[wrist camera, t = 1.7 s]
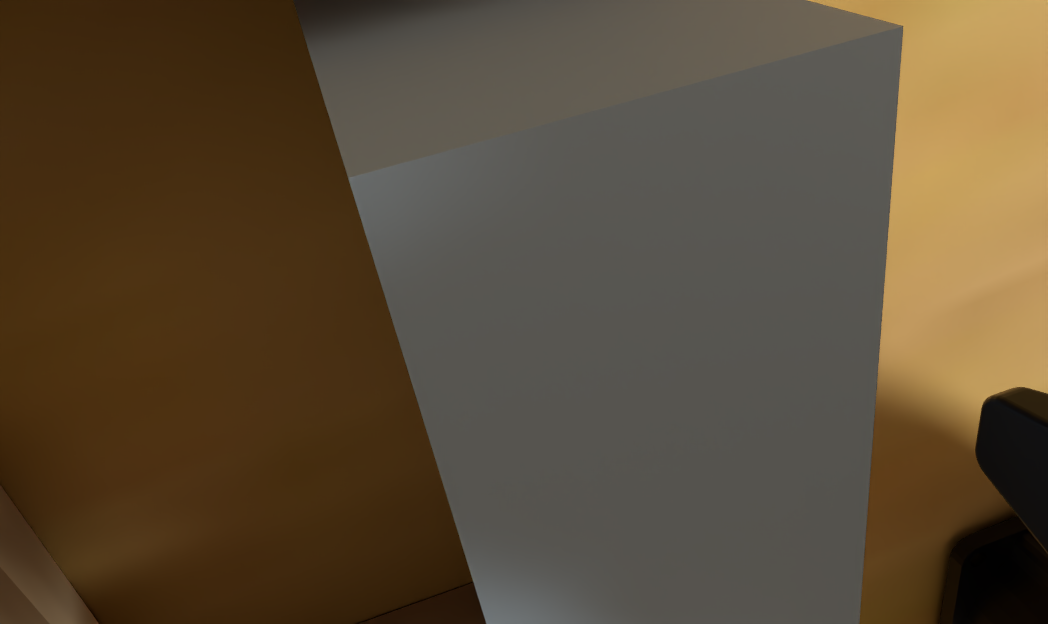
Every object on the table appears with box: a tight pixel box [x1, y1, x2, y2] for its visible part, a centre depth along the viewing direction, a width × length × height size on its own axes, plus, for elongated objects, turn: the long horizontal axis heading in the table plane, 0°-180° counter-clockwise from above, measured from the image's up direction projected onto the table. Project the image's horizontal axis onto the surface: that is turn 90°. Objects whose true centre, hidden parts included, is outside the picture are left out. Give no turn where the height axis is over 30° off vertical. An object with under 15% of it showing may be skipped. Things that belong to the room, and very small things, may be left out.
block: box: [293, 0, 903, 624], centre depth 10 cm, size 11×3×8 cm, turn 10°
